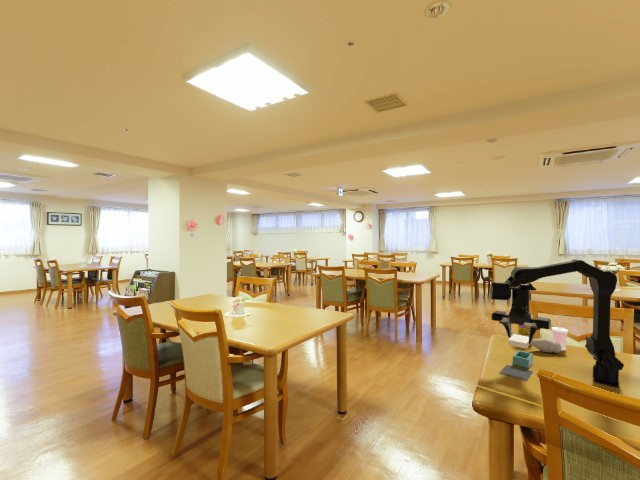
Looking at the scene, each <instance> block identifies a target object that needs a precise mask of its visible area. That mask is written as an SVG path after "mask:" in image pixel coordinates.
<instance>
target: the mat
mask: <svg viewBox="0 0 640 480" xmlns="http://www.w3.org/2000/svg"><path fill="white" fill-rule="evenodd" d="M533 373H534V371H533V370H529V369H527V368H523V367H519V366H515V365H510V364H505V366H503V368H502V369H501V370H500V372H498V374H499V375H502V376H507V377H511V378H513V379H517V380H520V381H524V382H528V380H530V378H531V376H532V374H533Z"/></svg>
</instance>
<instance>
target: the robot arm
mask: <svg viewBox="0 0 640 480" xmlns="http://www.w3.org/2000/svg"><path fill="white" fill-rule="evenodd" d="M576 272H577V273H580V274H581V275H583V276H585V277H586V278H588V282H589V283H588V284H589V286H590V289H591V291H592V294H593V307H592V308H593V309H592V314H593V315H592V333H591V335H590V336H585V344H584V347H585V348H586V350H587V352H588V354H590V355H591V356H592V359H593V361H595V364H593V365H592V378H593V381H594V382H595V383H599V384H603V385H608V386H611V387H615V388H619V387H620V380H619V379H620V378H619V377H620V375H619V374H620V371H623V369H624V367H625V364H624V363H623V362H622V361H621V360H619V359H618V358H617V357H616V351H615V347H614V343H613V342H612V339H611V335H610V334H611V304H612V303H611V297H612V295H613V293H614V292H615V290H616V287H617V284H618V277H617V275H616V274H615V273H613V272H612V271H609V270H604V269H601V268H600V269H599V267H597V266H596V267H595V265H594V266H593V265H591V264H590V263H587V262H586V261H584V260H582V259H577V258H576V259H575V258H574V259H572V260H568V261H563V262H562V261H561V262H557V263H552V264H547V265H541V266H534V267H533V266H524V267H523V266H522V267H521V266H520V267H514V268H513V269H512V271H511V273H510V275H509V277H507V279H506V280H505V281H504V282H499V281H498V282H497V281H491V282H490V283H491V284H490V286H489V287H490V288H489V299H490V300H497V301H498V300H499V301H508V300H510V299H511V308H510V310H509V312H508V314H507V312H506V311H500V310H495V311H494V312H493V313H491V321H496V322H498V323H499V324H501V325H502V326H503V327H504V329H505V331H506V335H507V336H508V339H509V338H510V337H511V336H512V335H513V334H512V325H514V324H515V325H517V326H518V325H524V323H531V324H532V326H531V327H530V335H529V344H530V343H531V341H532V339H533V336H534V337H535V334H536V332H537V330H538V331H540V330H541V329H543V330H550V328H552V327H551V326H552V320H551V319H550V318H548V317H541V316H538V317H537V318H533V319H532V318H531V315H532V313H531V312H530V296H531V295H530V291H536V290H537V288H536V287H535V286H534V285H533V284H532V283H533V282H536V281H538V280H540V279H542V278H547V277H553V276H558V275H565V274H569V273H576Z"/></svg>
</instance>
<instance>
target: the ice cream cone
mask: <svg viewBox="0 0 640 480" xmlns="http://www.w3.org/2000/svg"><path fill="white" fill-rule="evenodd" d="M529 346H532V347H534V348H536V349H537V350H538V351H541V352H542V353H549V354H550V353H553V354H554V353H555V354H559V353H560V352H562V350H561V346H560V344H558V343H556V342H553V340H551V339H549V338H546V337H543V338H534V339H532V341H531V343H530V345H529Z"/></svg>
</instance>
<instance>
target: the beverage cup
mask: <svg viewBox="0 0 640 480" xmlns="http://www.w3.org/2000/svg"><path fill="white" fill-rule="evenodd" d="M561 319H562V318H561V317H559V319H558V321H559V323H558V326H552V327H551V336H552V337H551V338H552V341H553V342H556V343H558V344H560V346H561V351H566V349H567V347H566V346H567V341H568V340H567V338H568V333H569V329H567V328H565V327H561V324H562V323H561V321H562V320H561Z"/></svg>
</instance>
